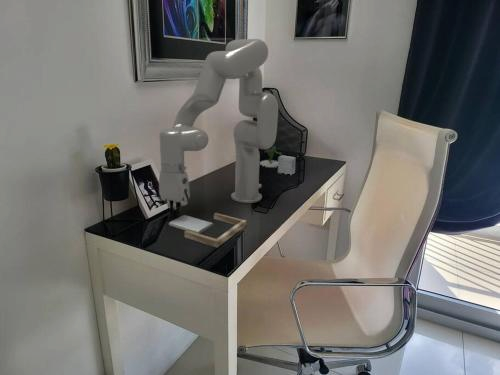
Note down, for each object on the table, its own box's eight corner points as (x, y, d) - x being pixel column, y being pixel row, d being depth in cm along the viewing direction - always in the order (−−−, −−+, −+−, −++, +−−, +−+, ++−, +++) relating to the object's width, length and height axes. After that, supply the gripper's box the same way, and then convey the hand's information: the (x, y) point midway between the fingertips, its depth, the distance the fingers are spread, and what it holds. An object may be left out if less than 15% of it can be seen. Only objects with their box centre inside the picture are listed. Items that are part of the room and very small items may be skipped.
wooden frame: (215, 217, 121) (215, 212, 121) (245, 226, 116) (246, 220, 115) (184, 237, 107) (184, 231, 106) (217, 247, 101) (217, 241, 101)
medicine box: (294, 173, 176) (296, 157, 173) (291, 175, 172) (292, 159, 169) (281, 171, 180) (282, 154, 177) (277, 173, 176) (278, 156, 173)
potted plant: (284, 163, 194) (286, 146, 190) (275, 168, 184) (276, 150, 180) (266, 160, 199) (266, 143, 196) (256, 165, 189) (256, 146, 186)
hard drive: (213, 222, 116) (184, 214, 121) (198, 231, 109) (168, 222, 115) (213, 227, 116) (184, 218, 122) (198, 236, 109) (168, 226, 115)
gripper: (198, 168, 112) (198, 219, 118) (163, 161, 119) (165, 210, 125) (183, 173, 106) (184, 227, 112) (147, 166, 113) (150, 217, 119)
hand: (174, 218), depth 119 cm, fingers closed
